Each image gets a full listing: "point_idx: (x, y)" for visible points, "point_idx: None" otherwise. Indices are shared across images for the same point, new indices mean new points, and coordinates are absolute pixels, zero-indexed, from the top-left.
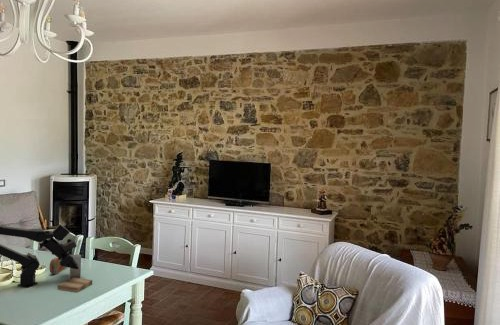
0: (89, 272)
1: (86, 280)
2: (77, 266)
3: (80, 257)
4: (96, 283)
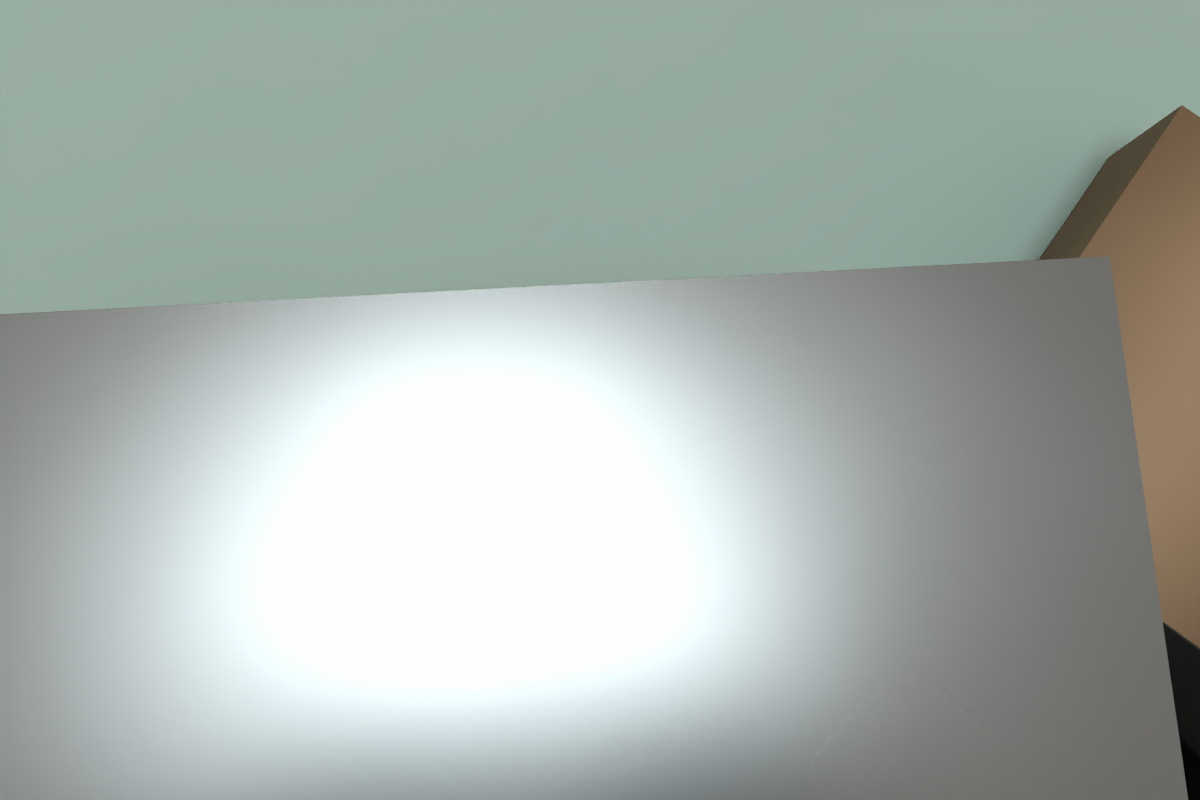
0: (11, 194)
1: (1178, 283)
2: (1165, 623)
3: (1069, 353)
4: (1088, 46)
